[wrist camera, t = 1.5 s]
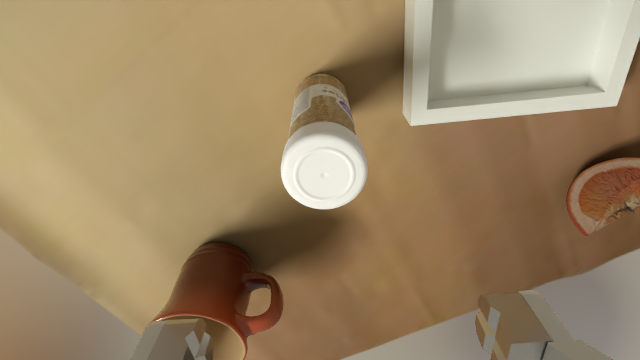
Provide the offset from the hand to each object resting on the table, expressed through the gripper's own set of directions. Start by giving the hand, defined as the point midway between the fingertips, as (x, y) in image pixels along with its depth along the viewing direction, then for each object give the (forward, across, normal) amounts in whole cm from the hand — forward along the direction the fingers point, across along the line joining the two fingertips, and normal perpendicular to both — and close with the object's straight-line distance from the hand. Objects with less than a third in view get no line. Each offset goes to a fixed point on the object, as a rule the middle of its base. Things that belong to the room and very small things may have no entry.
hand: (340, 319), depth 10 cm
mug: (+22, +12, +16) cm, 30 cm away
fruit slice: (+23, -26, +11) cm, 36 cm away
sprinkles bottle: (+22, 0, 0) cm, 22 cm away
